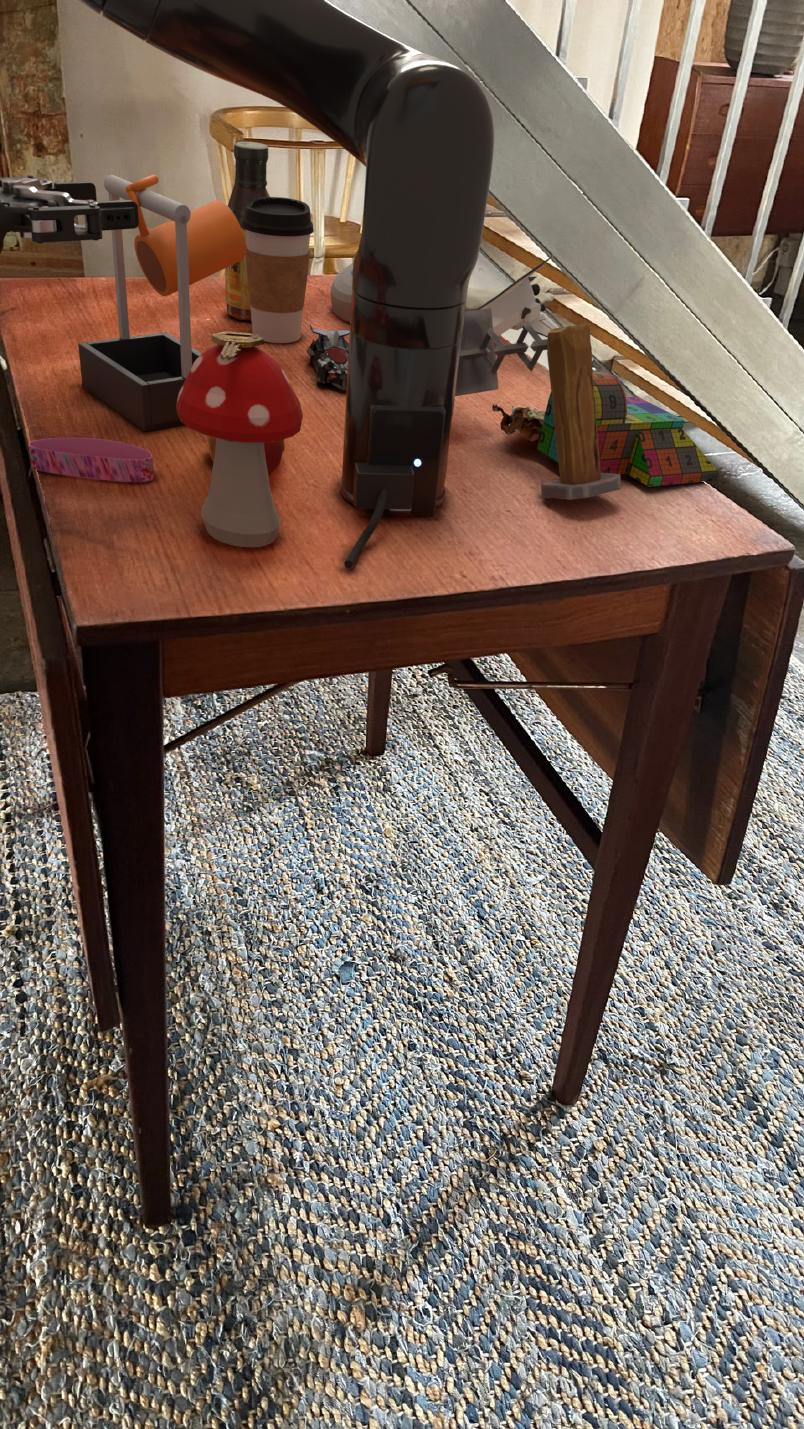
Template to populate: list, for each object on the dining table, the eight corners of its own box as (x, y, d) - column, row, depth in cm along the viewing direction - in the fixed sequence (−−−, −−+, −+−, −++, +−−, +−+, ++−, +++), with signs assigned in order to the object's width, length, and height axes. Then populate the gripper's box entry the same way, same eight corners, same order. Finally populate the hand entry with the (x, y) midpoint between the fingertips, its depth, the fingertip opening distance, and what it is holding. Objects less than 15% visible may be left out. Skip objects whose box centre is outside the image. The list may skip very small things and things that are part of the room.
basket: (234, 415, 104) (231, 202, 92) (144, 431, 99) (129, 207, 87) (168, 373, 112) (158, 173, 101) (82, 386, 107) (60, 176, 95)
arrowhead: (376, 277, 143) (540, 272, 149) (375, 302, 145) (537, 296, 151) (402, 304, 134) (575, 297, 140) (400, 331, 136) (571, 323, 142)
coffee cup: (315, 330, 130) (320, 201, 121) (304, 350, 123) (307, 214, 114) (250, 323, 130) (250, 193, 121) (235, 342, 123) (233, 206, 115)
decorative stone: (494, 289, 134) (490, 250, 130) (373, 338, 129) (365, 298, 125) (423, 259, 146) (417, 222, 143) (310, 302, 141) (301, 266, 138)
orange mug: (252, 266, 101) (175, 303, 98) (221, 253, 105) (146, 288, 102) (223, 157, 94) (139, 193, 91) (191, 146, 97) (109, 181, 94)
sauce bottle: (221, 309, 134) (218, 137, 122) (268, 309, 136) (270, 140, 124) (230, 324, 129) (228, 146, 117) (279, 324, 131) (281, 149, 119)
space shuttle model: (457, 319, 114) (510, 393, 116) (564, 239, 127) (609, 306, 130) (383, 384, 126) (431, 450, 129) (487, 305, 140) (530, 365, 142)
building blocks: (602, 490, 94) (627, 399, 89) (536, 450, 100) (556, 362, 96) (716, 480, 101) (745, 395, 96) (647, 443, 108) (671, 361, 103)
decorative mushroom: (157, 532, 82) (145, 341, 73) (225, 497, 88) (222, 318, 79) (257, 571, 78) (258, 375, 69) (321, 532, 84) (329, 347, 75)
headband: (40, 430, 91) (43, 454, 92) (23, 446, 88) (26, 470, 89) (160, 446, 91) (161, 469, 92) (147, 462, 88) (148, 486, 89)
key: (200, 358, 68) (200, 352, 68) (214, 335, 75) (214, 330, 75) (257, 362, 69) (257, 356, 68) (265, 339, 76) (265, 334, 75)
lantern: (380, 492, 112) (572, 501, 89) (358, 328, 107) (557, 291, 83) (436, 480, 116) (634, 485, 92) (417, 321, 111) (623, 284, 87)
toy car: (354, 359, 122) (356, 324, 120) (371, 394, 113) (373, 356, 110) (303, 358, 121) (304, 322, 118) (316, 393, 111) (318, 355, 109)
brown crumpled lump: (522, 388, 110) (539, 443, 112) (480, 409, 101) (500, 469, 102) (581, 368, 106) (598, 425, 108) (544, 387, 97) (562, 450, 99)
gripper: (-46, 179, 78) (149, 172, 86) (-106, 146, 86) (77, 144, 95) (-29, 282, 82) (154, 267, 91) (-88, 242, 90) (85, 231, 99)
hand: (114, 204), depth 93 cm, fingers open, 8 cm apart
